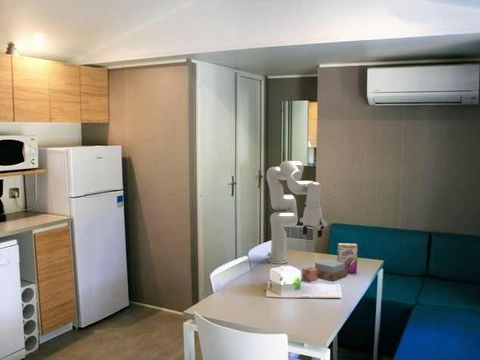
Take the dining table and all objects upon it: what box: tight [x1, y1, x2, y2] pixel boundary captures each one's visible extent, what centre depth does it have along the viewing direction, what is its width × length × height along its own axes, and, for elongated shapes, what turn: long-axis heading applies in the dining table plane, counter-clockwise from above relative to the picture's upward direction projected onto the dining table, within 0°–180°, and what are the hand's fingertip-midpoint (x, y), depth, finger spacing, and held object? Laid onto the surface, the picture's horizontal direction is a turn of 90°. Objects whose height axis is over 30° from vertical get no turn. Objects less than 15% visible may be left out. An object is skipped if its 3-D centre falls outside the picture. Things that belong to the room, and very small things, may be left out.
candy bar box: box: [337, 242, 359, 274], centre depth 276 cm, size 11×5×16 cm, turn 84°
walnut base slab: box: [317, 270, 348, 282], centre depth 267 cm, size 14×14×4 cm
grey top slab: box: [314, 258, 345, 274], centre depth 267 cm, size 12×12×4 cm
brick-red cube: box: [301, 266, 318, 282], centre depth 260 cm, size 6×6×6 cm
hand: (312, 235), depth 258 cm, fingers open, 9 cm apart
